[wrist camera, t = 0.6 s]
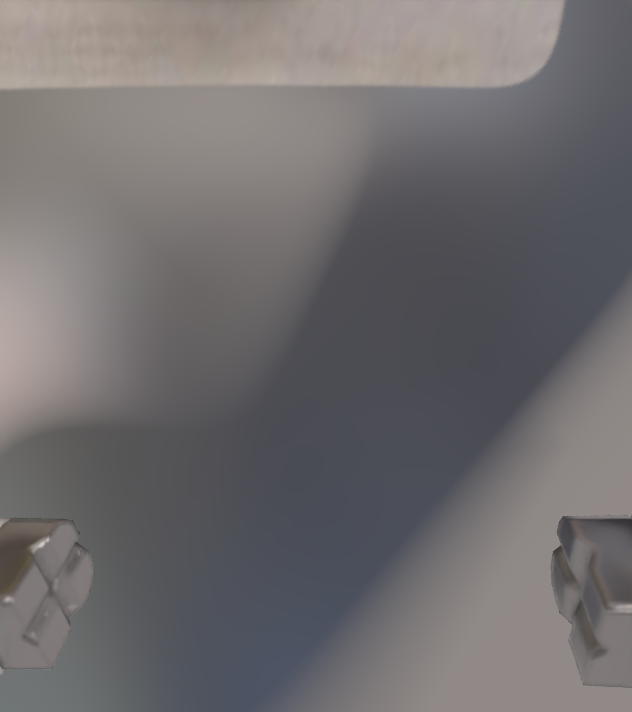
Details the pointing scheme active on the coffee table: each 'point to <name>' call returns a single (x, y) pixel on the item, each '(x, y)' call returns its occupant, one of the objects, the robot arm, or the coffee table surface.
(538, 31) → the coffee table surface
